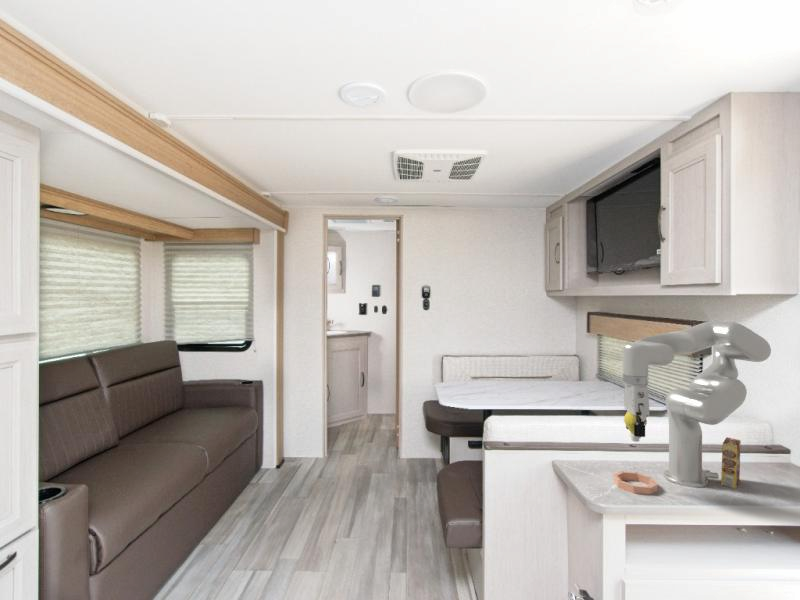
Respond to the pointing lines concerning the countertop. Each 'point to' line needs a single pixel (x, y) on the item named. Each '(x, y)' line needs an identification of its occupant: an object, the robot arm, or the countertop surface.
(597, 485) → the countertop surface
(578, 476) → the countertop surface
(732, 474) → the candy box
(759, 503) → the countertop surface
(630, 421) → the light bulb
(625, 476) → the terracotta ring
